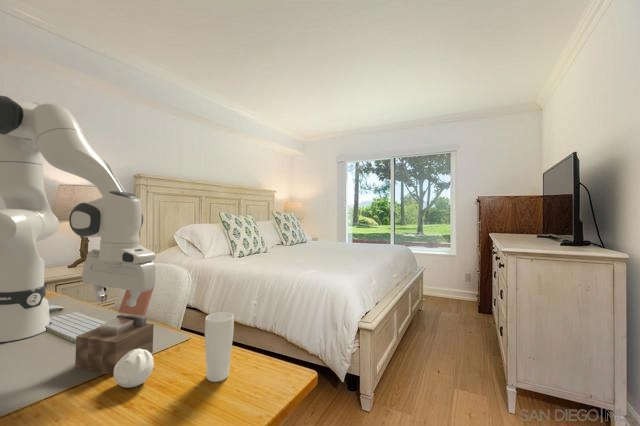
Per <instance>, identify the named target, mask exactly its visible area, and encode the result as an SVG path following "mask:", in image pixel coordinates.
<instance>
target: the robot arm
mask: <svg viewBox="0 0 640 426" xmlns="http://www.w3.org/2000/svg"><path fill="white" fill-rule="evenodd" d="M43 159H44V160H45V161H46V162H47V163H48V164H49V165H50V166H52V167H54V168H56V169H57V170H60V171H61V172H65V173H68V174H71V175H74V176H76V177H78V178H81V179H83V180H85V181H87V182H89V183H91V184H92V185H93V186H95V187H96V188H97V191H98V192H99V193H100V195H101V197H99V198H97V199H94V200H90V201H86V202H79V204H77V205H75V206H74V207H73V209H72V210H71V212H70V214H69V220H68V222H69V227H70V229H71V230H72V232H73V233H74V234H76V235H77V236H79V237H83V238H100V242H99V249H91V250H90V251H89V252H88V253H87V254H86V259H85V261H84V263H83V268H82V274H81V280H82V282H83V284H85V285H92V286H93V290H94V292H95V293H94V294H95V295H96V302H98V303H103V302H104V303H105V302H107V300H108V294H107V293H106V292H105V289H104V288H110V289H111V288H112V289H119V290H125V291H126V290H130V294H132V296H131V298H130V299H128V300H127V301H126V303H127V304H126V306H128V307H133V306H136V301H137V298H138V297H139V295H140V294H141V292H145V291H148V290H151V289H152V288H153V287H154V288H155V285H156V264H155V263H154V261H155V260H156V255H157V254H156V253H155V252H154V251H152V250H150V249H148V248H147V247H145V246H143V245H141V238H140V230H141V228H142V226H143V224H144V215H143V209H142V208H143V207H142V203H141V199H140V197H139V196H137V194H133V193H130V192H127V191H126V190H125V188H124V187H123V185H122V184H121V182H120V180H119V178H118V177H117V176H116V174H115V172H114V171H113V169H112V168H111V167H110V165H109V164H108V163H107V161H105V160H104V159H103V158H102V157H101V156H100V155H99V154H98V153H97V152H96V151H95V149H94V148H93V146H92V145H91V144H90V143H89V141H88V138H87V137H86V135H85V133H84V131H83V129H82V127H81V125H80V123H79V122H78V121H77V119H76V117H75V116H74V115H73V114H72V112H71V111H70V110H69V109H67V107H65V106H62V105H60V104H57V103H39V102H34V101H27V100H23V99H18V98H11V97H8V96H6V95H0V198H1V200H2V201H3V203H4V206H5V208H2V209H0V343H5V342H13V341H17V340H23V339H26V338H30V337H35V336H37V335H39V334H41V333H44V332H45V331H47V330H46V328H45V326H46V325H48V324H49V321H50V320H51V319H52V318H50V308H49V300H48V299H47V298H45V296H46V295H47V285H46V284H45V267H46V265H45V264H46V263H45V260H44V259H43V258H42V257H41V256H40V254H39V252H38V249H37V242H40V241H43V240H46V239H48V238H49V237H51V236H52V235H54V234H56V233H57V231H58V230H59V227H60V222H59V219H58V217H57V216H56V215H55V214H54V212H53V211H52V208H51V206H50V202H49V201H48V198H47V194H46V190H45V180H44V166H43V165H44V164H43Z"/></svg>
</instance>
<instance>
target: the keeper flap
mask: <svg viewBox="0 0 640 426" xmlns="http://www.w3.org/2000/svg"><path fill="white" fill-rule="evenodd" d="M154 288H155V286H154V287H153V288H152V289H151V290H148V291H145V292H141V294H140V295H139V297H138V298H137V301H136V306H133V307H128V306H126V304H127V303H126V301H127V300H128V299H130V298H131V296H132V294H130V290H125V291H124V295H123V298H122V300H121V304H120V307H119V310H118V313H120V314H125V315H133V316H140V317H146V314H147V310H148V307H149V305H150V304H149V303H150V301H151V297H152V294H153V291H154Z"/></svg>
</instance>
